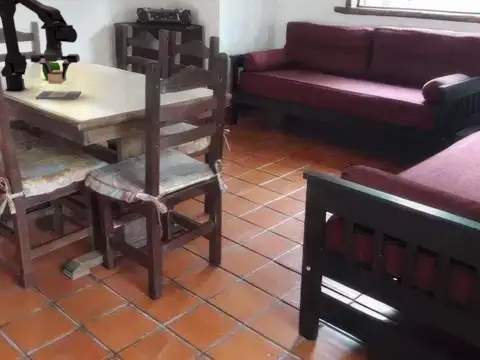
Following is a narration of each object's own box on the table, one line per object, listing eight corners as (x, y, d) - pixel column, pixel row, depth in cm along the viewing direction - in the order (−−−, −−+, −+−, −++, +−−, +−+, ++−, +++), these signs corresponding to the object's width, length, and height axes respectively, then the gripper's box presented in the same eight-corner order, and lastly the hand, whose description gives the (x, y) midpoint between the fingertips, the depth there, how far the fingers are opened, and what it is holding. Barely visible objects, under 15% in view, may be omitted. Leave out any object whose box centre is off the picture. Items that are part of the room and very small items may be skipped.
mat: (35, 98, 225) (35, 96, 225) (43, 92, 236) (43, 90, 236) (75, 99, 226) (74, 97, 226) (81, 93, 237) (81, 91, 237)
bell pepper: (49, 82, 258) (46, 60, 255) (40, 79, 264) (38, 58, 260) (65, 79, 264) (63, 59, 261) (56, 77, 269) (54, 56, 266)
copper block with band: (54, 79, 233) (53, 69, 232) (66, 79, 233) (65, 70, 232) (48, 83, 225) (47, 73, 223) (61, 84, 225) (60, 73, 223)
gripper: (24, 42, 215) (28, 82, 221) (72, 43, 216) (75, 83, 222) (32, 39, 225) (36, 77, 231) (78, 40, 226) (81, 77, 232)
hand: (57, 78), depth 229 cm, fingers closed on copper block with band, 5 cm apart
